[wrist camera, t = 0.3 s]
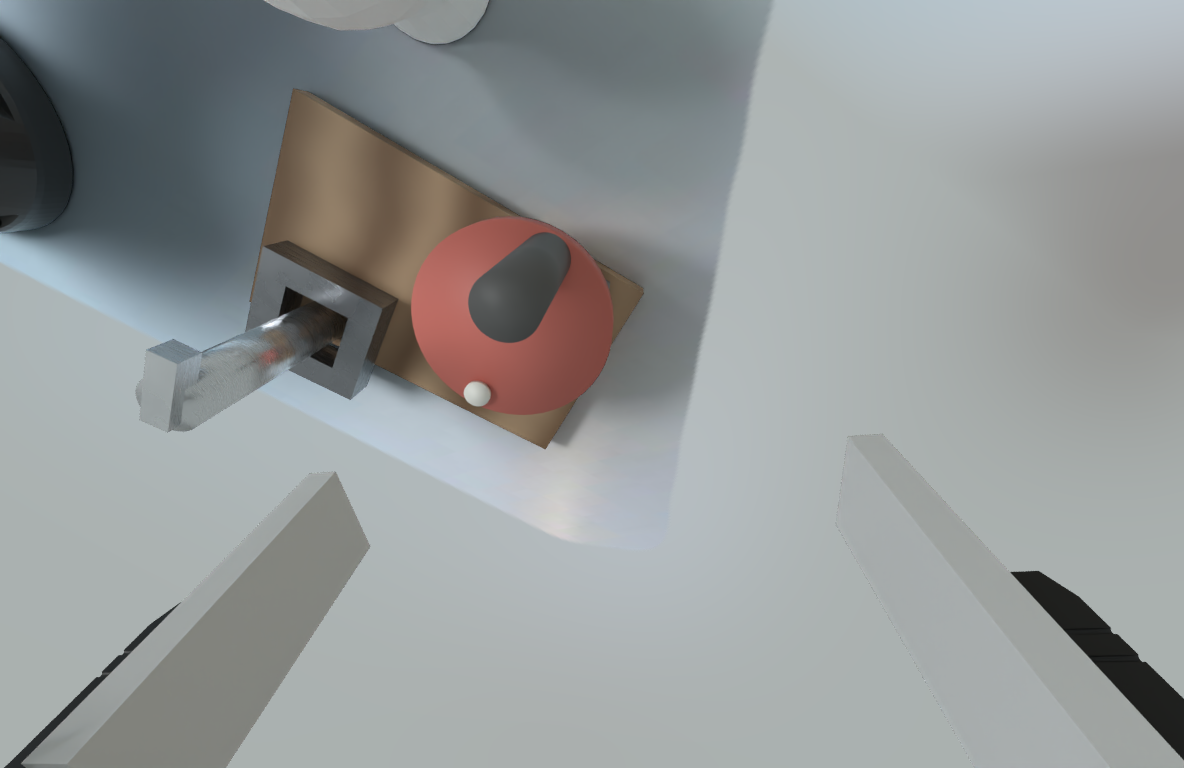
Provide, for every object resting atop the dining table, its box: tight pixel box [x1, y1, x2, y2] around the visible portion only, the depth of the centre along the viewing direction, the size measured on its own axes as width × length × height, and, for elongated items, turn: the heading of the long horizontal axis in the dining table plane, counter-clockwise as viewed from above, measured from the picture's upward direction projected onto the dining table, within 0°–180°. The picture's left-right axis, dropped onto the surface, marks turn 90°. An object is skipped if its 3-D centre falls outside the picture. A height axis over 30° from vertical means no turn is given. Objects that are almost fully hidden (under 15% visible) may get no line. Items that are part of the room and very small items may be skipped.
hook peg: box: [136, 301, 348, 432], centre depth 29 cm, size 3×5×15 cm, turn 151°
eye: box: [245, 240, 398, 400], centre depth 34 cm, size 9×9×2 cm
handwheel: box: [411, 216, 614, 415], centre depth 26 cm, size 13×13×12 cm
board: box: [250, 89, 644, 449], centre depth 34 cm, size 26×16×4 cm, turn 61°
